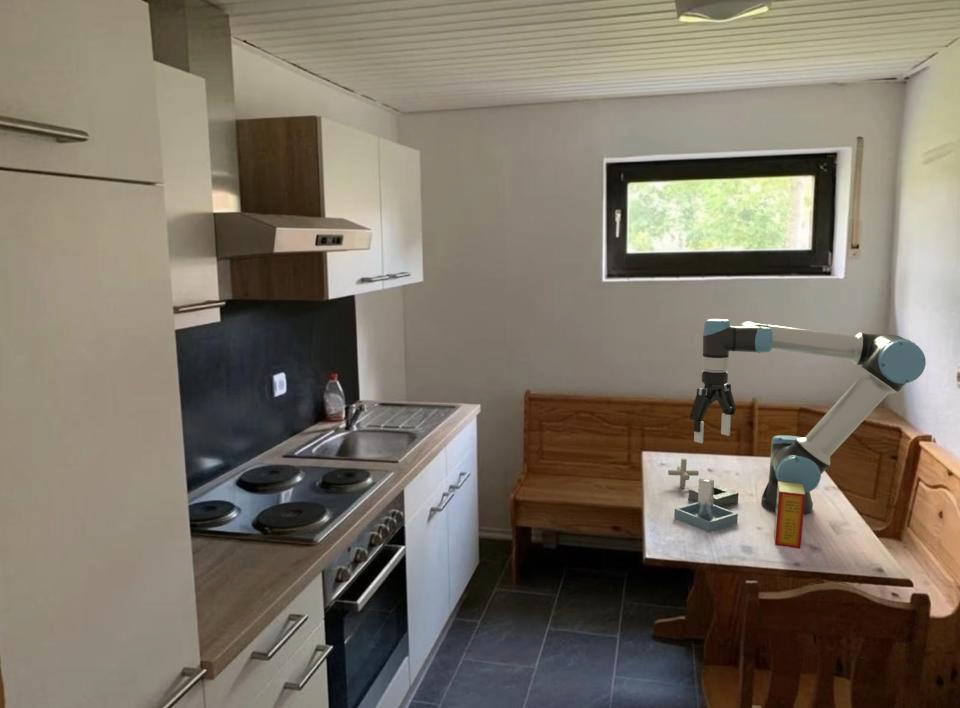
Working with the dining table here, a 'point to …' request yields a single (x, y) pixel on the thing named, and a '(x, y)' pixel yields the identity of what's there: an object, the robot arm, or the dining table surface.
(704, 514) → the shiny metal cylinder
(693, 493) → the block
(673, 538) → the dining table surface
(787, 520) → the baking soda box
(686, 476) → the pipe connector
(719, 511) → the parts tray
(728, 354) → the robot arm
